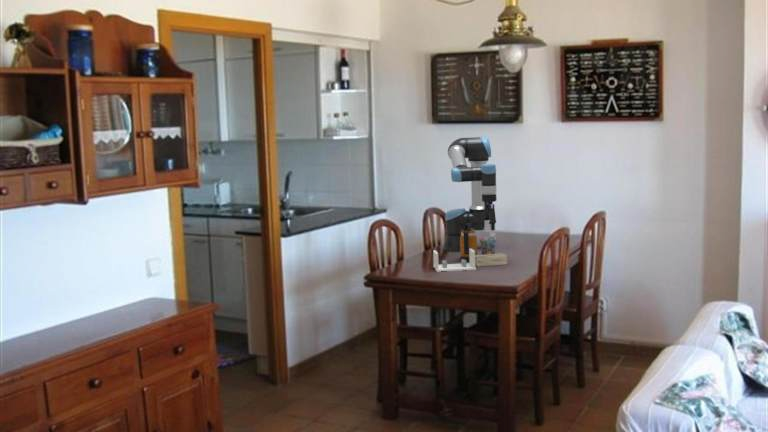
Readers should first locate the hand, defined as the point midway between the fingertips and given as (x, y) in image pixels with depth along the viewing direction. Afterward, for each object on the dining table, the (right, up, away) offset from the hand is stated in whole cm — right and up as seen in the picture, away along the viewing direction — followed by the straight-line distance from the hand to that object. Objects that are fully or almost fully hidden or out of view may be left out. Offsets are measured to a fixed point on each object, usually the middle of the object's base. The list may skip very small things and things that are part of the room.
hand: (489, 234), depth 413 cm
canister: (-9, -14, +16) cm, 24 cm away
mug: (+2, -13, +21) cm, 25 cm away
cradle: (-19, -17, -5) cm, 26 cm away
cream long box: (+1, -16, +2) cm, 16 cm away
